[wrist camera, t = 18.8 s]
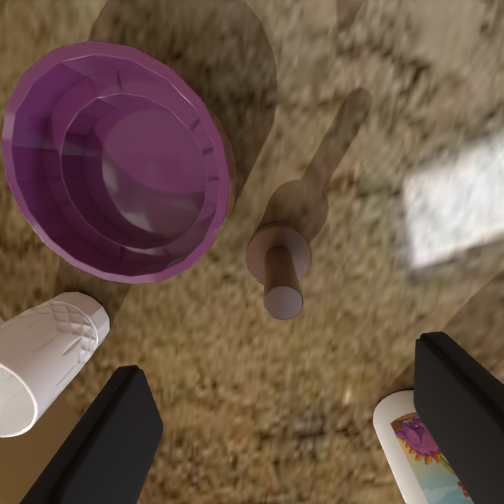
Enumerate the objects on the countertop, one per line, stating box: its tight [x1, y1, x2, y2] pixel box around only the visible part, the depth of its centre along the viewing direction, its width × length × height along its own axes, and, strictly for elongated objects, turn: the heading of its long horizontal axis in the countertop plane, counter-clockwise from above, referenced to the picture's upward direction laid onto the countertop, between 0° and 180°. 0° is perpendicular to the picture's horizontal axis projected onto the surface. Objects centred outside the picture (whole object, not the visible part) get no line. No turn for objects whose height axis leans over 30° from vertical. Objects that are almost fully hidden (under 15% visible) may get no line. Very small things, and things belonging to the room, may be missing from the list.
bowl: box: [1, 40, 238, 284], centre depth 20 cm, size 15×15×6 cm
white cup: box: [0, 292, 110, 437], centre depth 23 cm, size 8×8×10 cm
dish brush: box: [246, 222, 311, 320], centre depth 19 cm, size 5×5×10 cm
